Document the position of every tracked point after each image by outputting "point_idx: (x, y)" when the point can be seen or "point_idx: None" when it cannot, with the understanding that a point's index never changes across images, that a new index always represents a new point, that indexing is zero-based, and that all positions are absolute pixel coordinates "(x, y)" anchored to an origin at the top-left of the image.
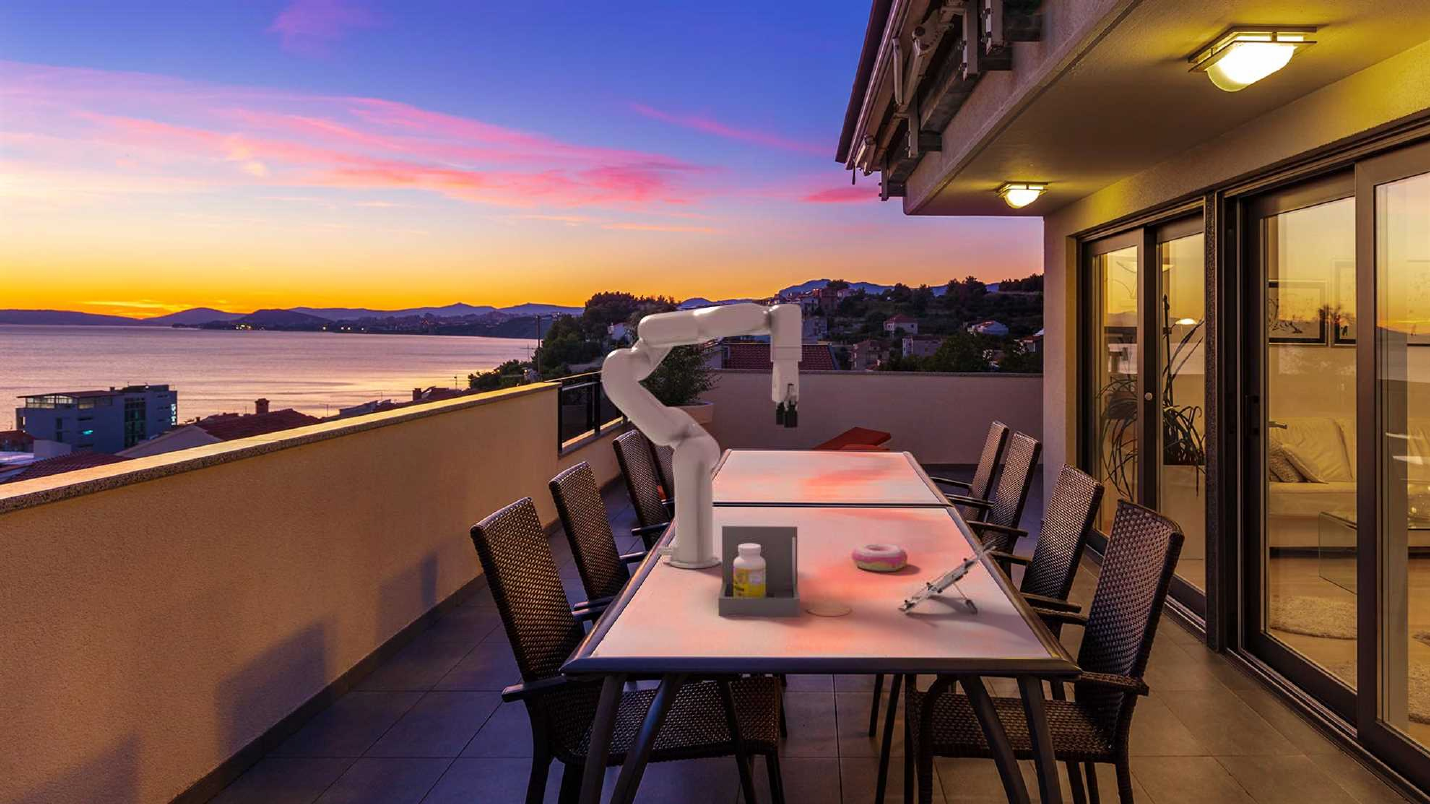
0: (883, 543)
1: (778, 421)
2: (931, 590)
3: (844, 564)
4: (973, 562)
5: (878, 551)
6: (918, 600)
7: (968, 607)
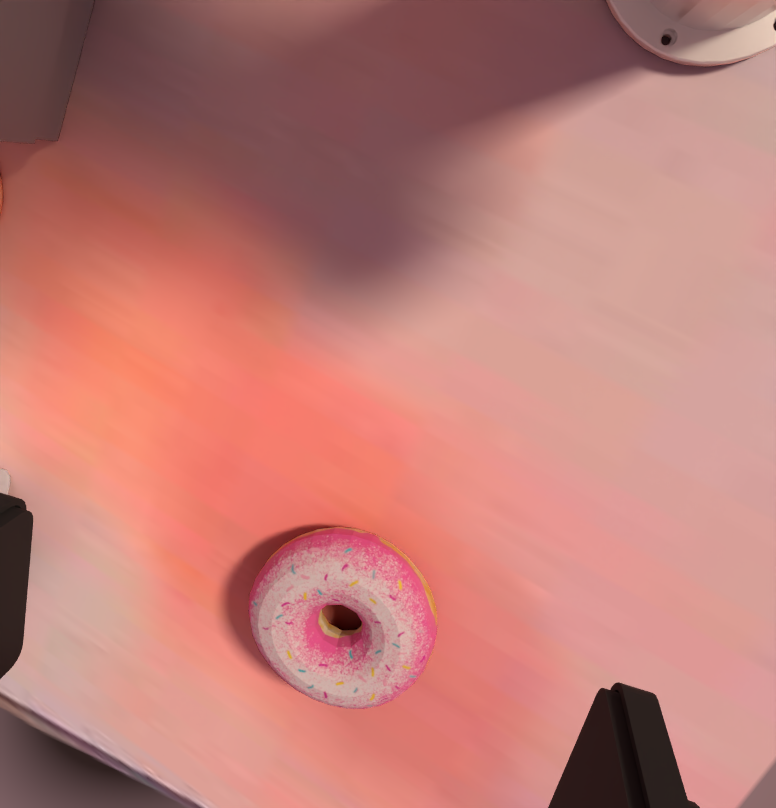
0: (383, 683)
1: (602, 738)
2: None
3: (418, 517)
4: None
5: (280, 600)
6: None
7: None
